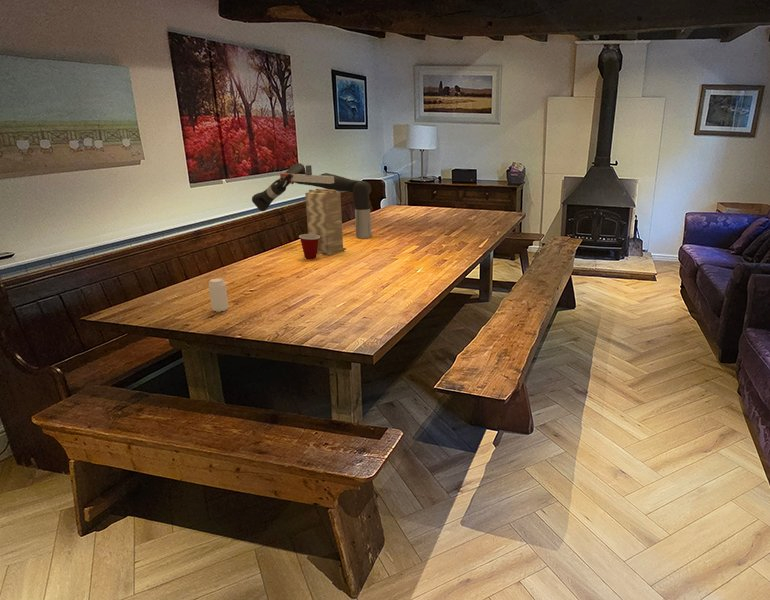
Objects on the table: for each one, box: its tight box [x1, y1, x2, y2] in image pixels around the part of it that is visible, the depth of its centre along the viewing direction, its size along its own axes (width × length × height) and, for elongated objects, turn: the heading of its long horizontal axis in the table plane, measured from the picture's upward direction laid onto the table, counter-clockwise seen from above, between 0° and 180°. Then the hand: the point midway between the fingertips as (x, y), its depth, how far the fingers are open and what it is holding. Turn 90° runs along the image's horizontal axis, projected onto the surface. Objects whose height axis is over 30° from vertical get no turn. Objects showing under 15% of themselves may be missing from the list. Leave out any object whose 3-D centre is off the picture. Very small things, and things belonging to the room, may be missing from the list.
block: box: [279, 164, 334, 184], centre depth 285 cm, size 36×4×9 cm, turn 54°
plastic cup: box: [298, 233, 320, 260], centre depth 277 cm, size 11×11×12 cm
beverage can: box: [208, 277, 229, 313], centre depth 202 cm, size 6×6×12 cm
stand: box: [304, 188, 347, 257], centre depth 287 cm, size 16×14×33 cm
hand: (293, 174), depth 291 cm, fingers closed on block, 4 cm apart
